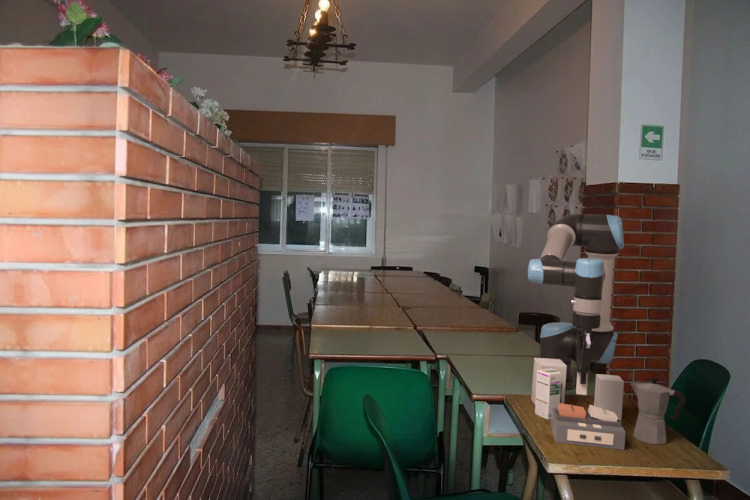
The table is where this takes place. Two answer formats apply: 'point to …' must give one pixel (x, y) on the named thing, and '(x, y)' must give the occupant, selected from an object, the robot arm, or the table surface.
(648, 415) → the coffeepot
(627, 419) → the table surface
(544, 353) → the robot arm
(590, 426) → the console
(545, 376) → the syrup box
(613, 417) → the rocker
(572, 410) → the rocker
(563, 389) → the supplement box
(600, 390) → the supplement box
